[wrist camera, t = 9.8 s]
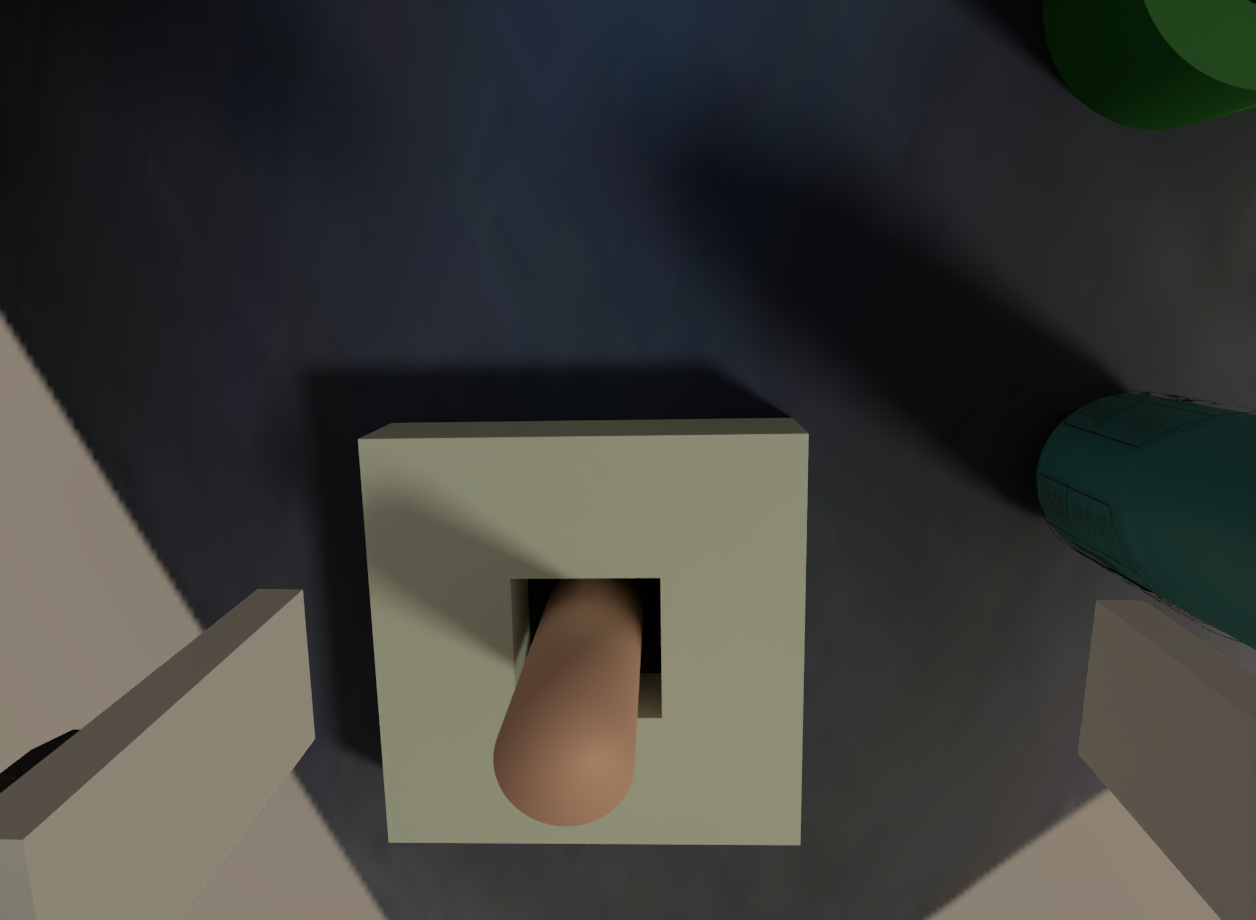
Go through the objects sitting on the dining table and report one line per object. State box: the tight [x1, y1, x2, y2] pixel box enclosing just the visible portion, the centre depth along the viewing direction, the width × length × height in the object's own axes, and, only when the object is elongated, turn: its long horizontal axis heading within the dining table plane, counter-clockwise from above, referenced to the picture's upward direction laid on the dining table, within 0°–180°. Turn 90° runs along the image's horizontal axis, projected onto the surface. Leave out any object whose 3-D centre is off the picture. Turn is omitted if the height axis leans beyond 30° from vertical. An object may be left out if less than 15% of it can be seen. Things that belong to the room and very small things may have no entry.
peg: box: [493, 578, 643, 827], centre depth 31 cm, size 4×4×12 cm
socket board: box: [358, 418, 809, 845], centre depth 35 cm, size 16×16×4 cm
